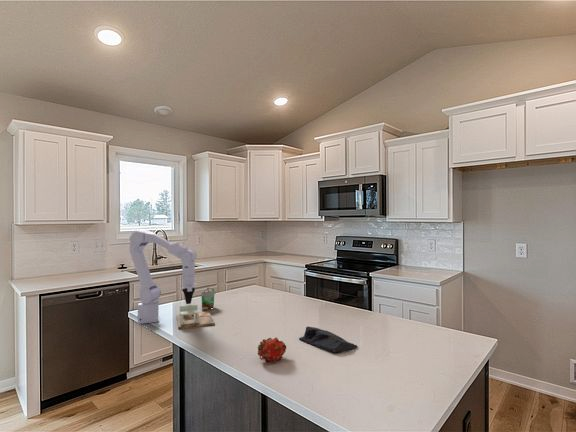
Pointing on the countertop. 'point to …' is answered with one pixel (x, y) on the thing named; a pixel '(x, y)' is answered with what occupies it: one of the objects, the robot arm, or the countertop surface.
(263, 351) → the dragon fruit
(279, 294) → the countertop surface
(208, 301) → the food container
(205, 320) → the puzzle board
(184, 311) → the sliding cover
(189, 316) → the maple block
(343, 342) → the charcoal beanbag
